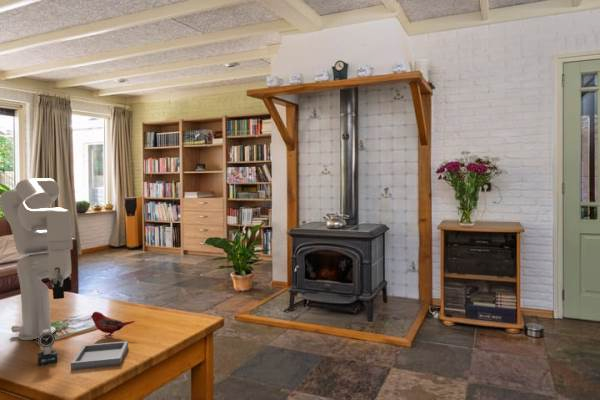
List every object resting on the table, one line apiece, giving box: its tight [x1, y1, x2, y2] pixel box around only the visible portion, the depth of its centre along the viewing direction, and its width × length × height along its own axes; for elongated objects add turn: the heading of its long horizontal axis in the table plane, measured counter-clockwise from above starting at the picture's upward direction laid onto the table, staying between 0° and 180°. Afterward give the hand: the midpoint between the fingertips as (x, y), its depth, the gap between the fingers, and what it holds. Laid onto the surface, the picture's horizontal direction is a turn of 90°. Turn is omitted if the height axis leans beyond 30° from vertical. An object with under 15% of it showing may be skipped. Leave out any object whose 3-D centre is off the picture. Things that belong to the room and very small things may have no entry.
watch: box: [37, 329, 59, 368], centre depth 146 cm, size 6×8×11 cm
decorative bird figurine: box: [90, 311, 136, 338], centre depth 168 cm, size 3×18×10 cm, turn 88°
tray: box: [70, 341, 129, 371], centre depth 149 cm, size 15×15×2 cm
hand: (62, 294), depth 150 cm, fingers open, 9 cm apart
